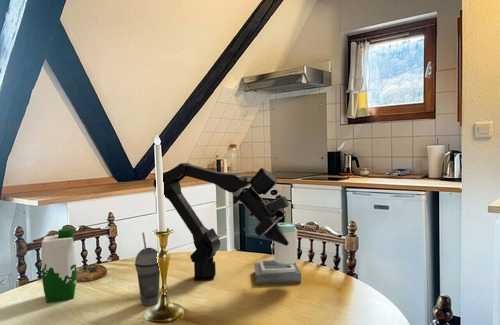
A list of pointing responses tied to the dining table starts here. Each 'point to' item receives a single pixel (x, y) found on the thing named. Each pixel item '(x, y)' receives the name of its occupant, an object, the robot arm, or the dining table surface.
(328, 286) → the dining table surface
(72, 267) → the milk carton
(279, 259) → the can
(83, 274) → the bread roll
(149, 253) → the beverage cup
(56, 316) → the dining table surface
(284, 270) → the grey rectangular tray
